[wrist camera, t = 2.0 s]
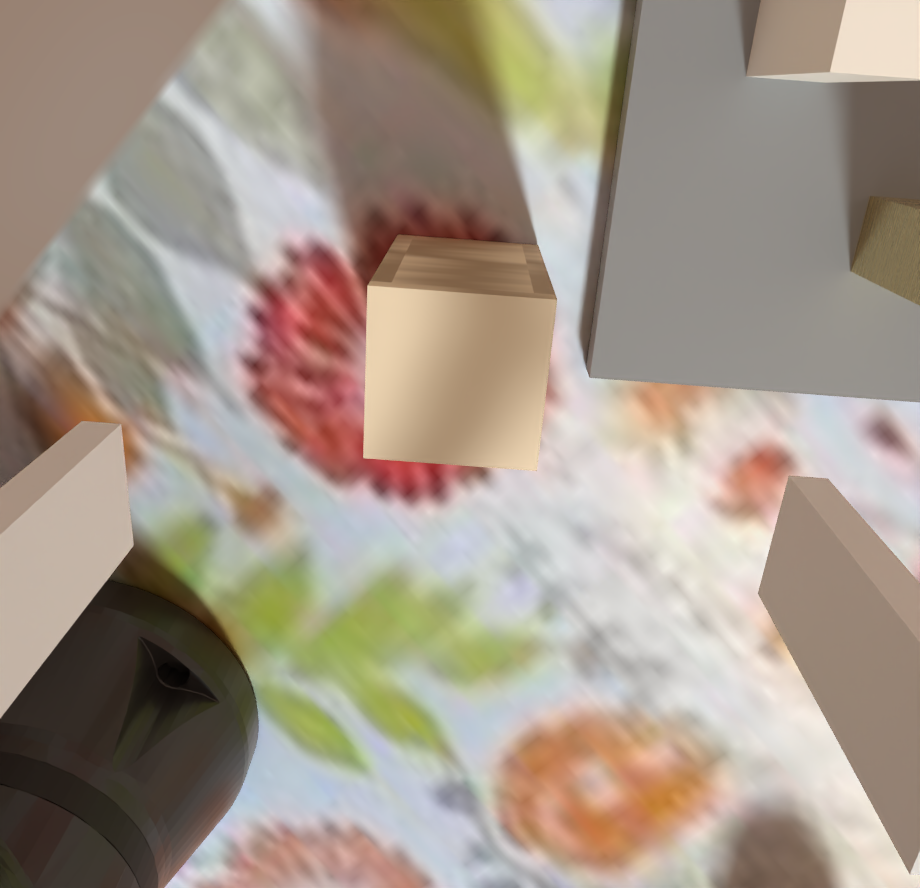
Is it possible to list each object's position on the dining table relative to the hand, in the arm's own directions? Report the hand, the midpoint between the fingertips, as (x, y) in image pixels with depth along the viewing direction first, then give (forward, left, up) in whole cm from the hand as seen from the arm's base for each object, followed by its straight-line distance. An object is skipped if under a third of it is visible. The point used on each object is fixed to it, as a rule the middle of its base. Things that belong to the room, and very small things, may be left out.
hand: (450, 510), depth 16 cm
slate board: (+13, +6, -16) cm, 22 cm away
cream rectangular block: (+10, +10, -15) cm, 21 cm away
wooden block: (0, 0, -16) cm, 16 cm away
